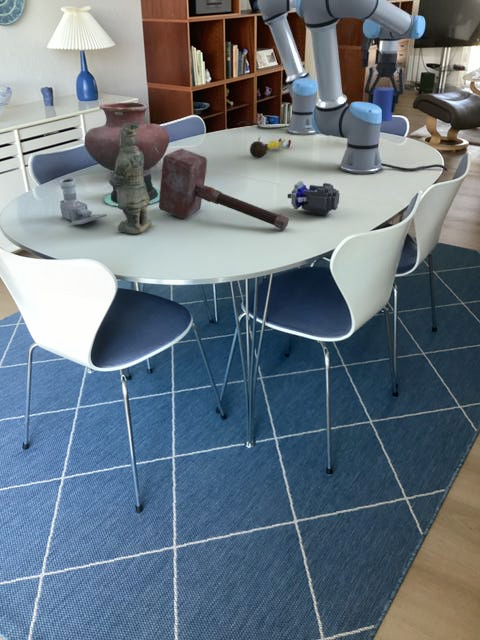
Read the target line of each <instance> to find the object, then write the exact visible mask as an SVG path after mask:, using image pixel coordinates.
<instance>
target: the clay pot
mask: <svg viewBox="0 0 480 640" xmlns="http://www.w3.org/2000/svg"><path fill="white" fill-rule="evenodd" d="M98 108H99V109H100V110H103V112H104V115H105V124H104V125H101V126H97V127H92V128H90V129H88V130H87V131H86V134H85V135H84V140H83V145H84V148H85V150H86V151H87V153H88V154H89V156H90V157H91V158H92V159H93V160H94V161H95V162H96V163H98V164H99V165H100V166H101V167H103V168H105V169H107V170H109V171H111V172H114V170H115V164H116V160H117V156H118V154H119V151H120V147H119V140H118V138H119V133H120V130H121V129H123V128H124V127H125V126H126V125H127V124H128V123H131V122H133V121H137V122H138V123H139V127H138V130H137V131H136V138H137V143H136V146H137V147H138V149H139V150H141V151H142V153H143V156H144V166H143V169H144V170H146V171H147V172H148V171H149V170H151V169H153V168H154V167H155V166H156V165H158V163H159V162H160V161H161V160H162V159H163V158H164V156H165V155H166V152H167V149H168V147H169V144H170V135H169V133H168V131H167V130H166V128H165V127H163V126H162V125H160V124H157V123H145V119H146V116H145V115H146V111H147V110H148V108H149V106H148V105H146V104H145V103H142V102H137V101H135V102H134V101H130V102H128V101H127V102H111V103H104V104H103V103H102V104H100V105H99V107H98Z"/></svg>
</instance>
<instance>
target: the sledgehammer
mask: <svg viewBox="0 0 480 640" xmlns="http://www.w3.org/2000/svg"><path fill="white" fill-rule="evenodd" d="M207 164H208V159H207V158H206V157H205V156H203V155H200V154H197V153H195V152H193V151H189V150H186V149H184V148H180V149H177V150H174V151H172V152H169V153H167V154H164V156H163V157H162V167H161V176H160V187H159V190H160V198H159V200H158V208H159V210H160V211H162V212H165V213H168V214H170V215H173V216H174V217H177V218H180V219H182V220H185V219H187V218H188V217H190V216H192V215H193V214H195V213H197V212H198V211H199V210H200V209H201V207H202V201H203V200H204V201H207V202H209V203H213V204H215V205H220V206H223V207H225V208H228V209H231V210H233V211H236V212H239V213H241V214H243V215H245V216H248V217H252V218H255V219H257V220H260V221H262V222H264V223H267V224H270V225H273V226H274V228H276V229H280V230H282V231H285V230H286V228H287V227H288V224H289V221H290V218H289V217H288V216H286V215H283V214H281V213H279V214H277V213H275V212H273V211H269V210H267V209H265V208H262V207H259V206H256V205H254V204H251V203H248V202H246V201H244V200H242V199H238V198H236V197H233V196H231V195H228V194H225V193H223V192H222V191H220V190H218V189H215V188H214V187H211V186H208V185H205V181H206V175H207Z"/></svg>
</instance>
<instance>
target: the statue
mask: <svg viewBox="0 0 480 640" xmlns="http://www.w3.org/2000/svg"><path fill="white" fill-rule="evenodd" d="M138 127H139V123H138V122H137V121H133V122H131V123H128V124H127V125H126V126H125V127H124V128H123V129H121V130H120V133H119V138H118V140H119V147H120V151H119V154H118V156H117V160H116V164H115V170H114V171H113V172H114V175H113V176H112V175H111V176H110V177H109V180H108V183H109V184H110V186H111V187H112V188H113V187H114V188H115V189H116V192H117V202H118V206H117V209H119V210H122V213H123V214H124V215H125V218H126V219H125V220H122V221H120V222H119V224H118V225H117V231H118V232H121V233H126V234H134V235H136V234H142V233H143V232H145V231H146V230H147V229H148V228H150V227H151V226H152V225H153V223H152V220H150V219H148V216H147V214H148V213H147V212H148V211H147V209H148V206H149V205H150V197H149V195H148V192H147V188H146V184H145V182H144V178H143V166H144V156H143V153H142V151H141V150H139V149H138V147H137V146H136V143H137V138H136V131H137V130H138Z"/></svg>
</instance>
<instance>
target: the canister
mask: <svg viewBox="0 0 480 640" xmlns="http://www.w3.org/2000/svg"><path fill="white" fill-rule="evenodd" d="M372 94H373V102H372V104H375V105H377V106H379V107H380V108H381V110H382V122H381V123H383V122H391V121H392V120H393V112H392V107H393V98H394V95H396V94H395V91H394V88H393V87H389V86H388V87H387V86H379V87H378V86H377V87H375V88H374V91H373V93H372Z"/></svg>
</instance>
